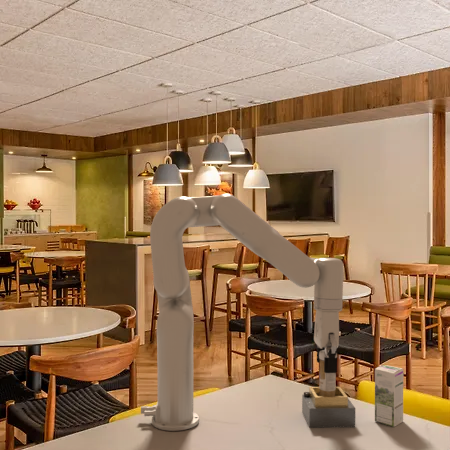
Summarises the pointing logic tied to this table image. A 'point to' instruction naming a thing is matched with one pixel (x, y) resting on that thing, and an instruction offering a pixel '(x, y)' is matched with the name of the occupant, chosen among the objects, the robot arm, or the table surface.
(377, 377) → the syrup box
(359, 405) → the table surface
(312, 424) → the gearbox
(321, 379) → the sprinkles bottle
